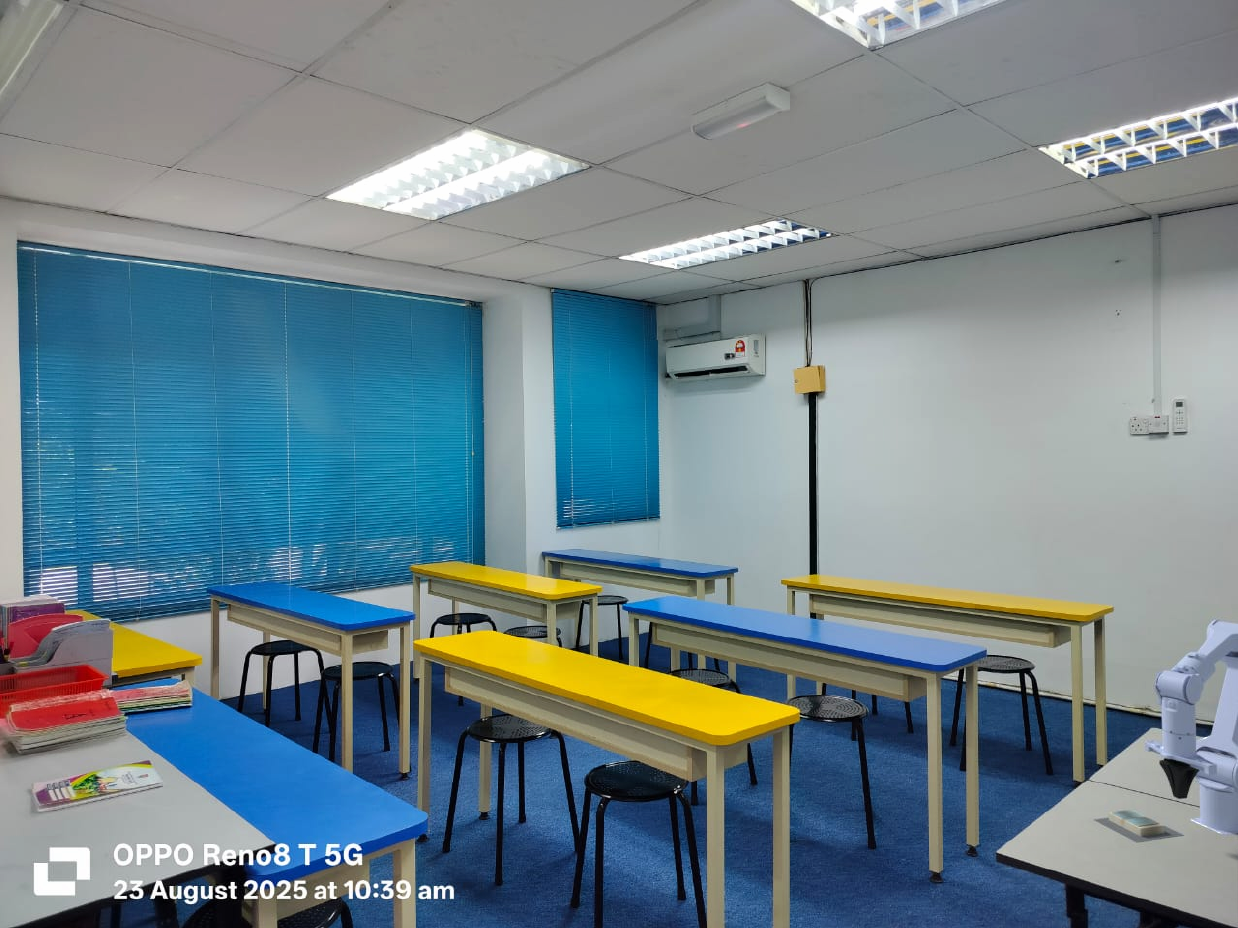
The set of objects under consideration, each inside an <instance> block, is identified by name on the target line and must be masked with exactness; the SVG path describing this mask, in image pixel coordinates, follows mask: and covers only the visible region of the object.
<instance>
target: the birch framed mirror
mask: <svg viewBox="0 0 1238 928" xmlns="http://www.w3.org/2000/svg"><path fill="white" fill-rule="evenodd" d="M1108 817H1109V820H1110V821H1112V822H1114V823H1116V824H1117V825H1119V826H1121V827H1123V828H1125V829H1127V830H1129V831H1131V832H1133V833H1135V834H1137V835H1139V836H1146V835H1153V834H1160V833H1164V826H1165V825H1164V824H1162V823H1160V822H1158V821H1156V820H1154V819H1152V818H1150V817H1148V816H1146V815H1144V814H1141V813H1140V812H1138V811H1135V810H1133V809H1127V810H1125V809H1124V810H1119V811H1112V812H1111V811H1110V812H1108Z"/></svg>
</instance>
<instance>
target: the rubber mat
mask: <svg viewBox="0 0 1238 928" xmlns="http://www.w3.org/2000/svg"><path fill="white" fill-rule="evenodd" d="M1093 821H1094V822H1097V823H1098V824H1101V825H1103V826H1105V827H1106V828H1108V829H1110V830H1112V831H1114V832H1116V833H1118V834H1120V835H1122V836H1124V837H1126V838H1127V839H1129V840H1131V841H1133V842H1135V843H1142V842H1149V841H1155V840H1162V839H1170V838H1176V837H1183V836H1185V835H1184V834H1183V833H1181V832H1178V831H1176V830H1174V829H1172V828H1170V827H1168V826H1165V825H1164V833H1160V834H1153V835H1146V836H1139V835H1137V834H1135V833H1133V832H1131V831H1129V830H1127V829H1125V828H1123V827H1121V826H1119V825H1117V824H1116V823H1114V822H1112V821H1110V820H1109V816H1108V817H1104V818H1102V817H1101V818H1096V819H1095V818H1094V819H1093Z"/></svg>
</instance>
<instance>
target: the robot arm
mask: <svg viewBox="0 0 1238 928" xmlns="http://www.w3.org/2000/svg"><path fill="white" fill-rule="evenodd" d="M1218 662H1222V663H1223V664H1225V667H1226V668H1227V669H1226V672H1225V677H1224V680H1223V685H1222V689H1221V692H1220V696H1219V701H1218V706H1217V709H1216V714H1215V717H1214V722H1213V726H1212V730H1211V733H1210V735H1208V736H1206V737H1203V738H1201V739H1198V740H1197V727H1196V725H1197V724H1196V723H1197V720H1196V718H1197V717H1196V715H1197V714H1196V704H1197V703H1198V702H1199V701H1200V699H1201V697H1202V694H1203V691H1204V688H1205V686H1204V685H1205V684H1206V683H1207V682H1208V681H1209V680H1210V679H1211V678H1212V677H1213V676H1214V675H1215V673H1216V665H1215V664H1217V663H1218ZM1154 691H1155V694H1156V696H1157V702H1158V705H1159V706H1160V707H1161V732H1162V733H1161V735H1162V736H1161V738H1162V739H1161V742H1159V741H1155V740H1145V741H1144V751H1146V752H1149V753H1150V752H1151V753H1154V754H1157V755H1159V756H1160V758H1163V759H1159V761H1158V762H1159V766H1160V767H1161V769H1162V770H1163V772H1164V773H1165V776H1166V778H1167V781H1168V783H1169V786H1170V789H1171V793H1172V795H1173V797H1174V798H1176V799H1178V800H1182V799H1187V798H1188V795H1189V791H1190V788H1191V785H1192V783H1193V781H1194V779H1195V782H1196V783H1199V784H1198V785H1199V816H1198V817H1193V818H1189V820H1190V821H1192V822H1194V823H1196V824H1199V825H1201V826H1203V827H1206V828H1207V829H1209V830H1212V831H1214V832H1216V833H1219V834H1221V835H1223V836H1224V835H1225V836H1228V835H1234V834H1238V623H1236V622H1228V621H1222V620H1219V619H1214V620H1212V621H1211V622H1210V623H1209V625H1208V626H1207V628H1206V640H1205V641H1204V643H1203V644H1202V645H1201V646H1200V648H1199V649H1198V650H1197V651H1189V652H1188V653H1187V654H1185V656H1183V657H1182V658H1181V659H1180V661H1179V662H1177V663H1176V665H1175V666H1173V667H1172V668H1171V670H1168V669H1165V670H1163V671H1160V672H1159V673H1158V674H1157V676H1156V679H1155V684H1154Z"/></svg>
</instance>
